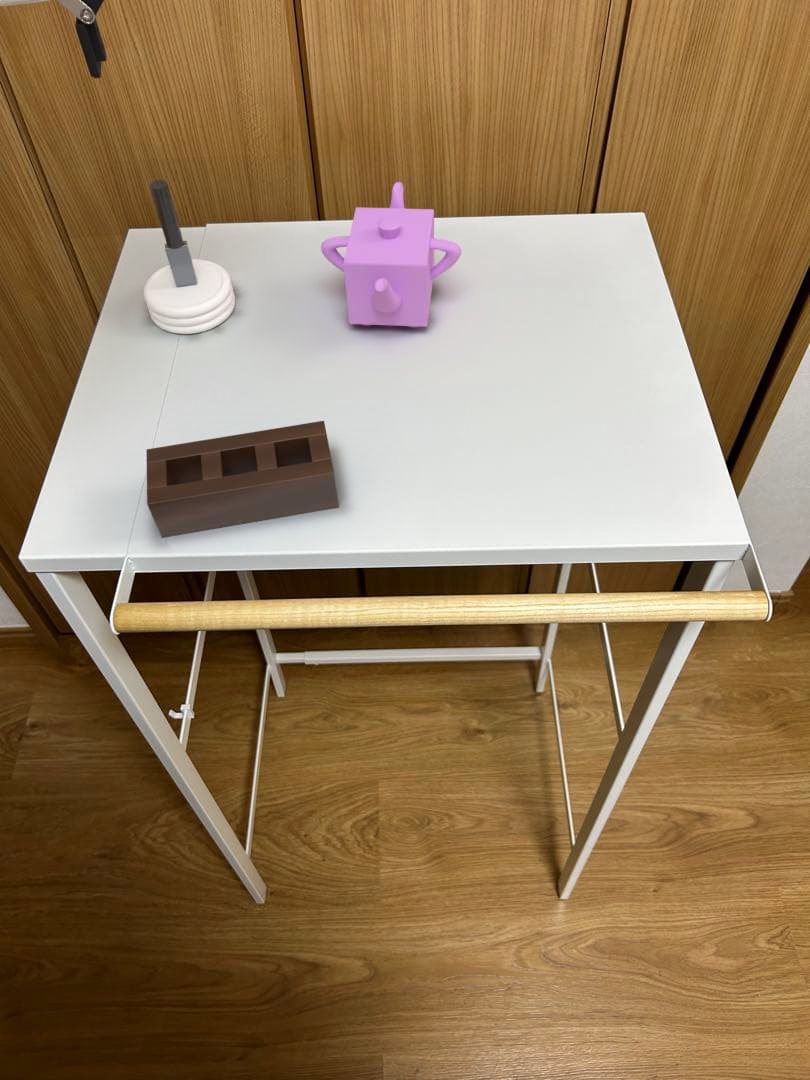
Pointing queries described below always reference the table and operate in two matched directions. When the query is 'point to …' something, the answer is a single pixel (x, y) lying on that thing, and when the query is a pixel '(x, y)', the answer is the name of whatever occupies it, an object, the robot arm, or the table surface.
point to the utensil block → (240, 479)
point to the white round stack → (190, 299)
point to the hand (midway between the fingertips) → (37, 78)
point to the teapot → (390, 263)
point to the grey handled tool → (173, 236)
